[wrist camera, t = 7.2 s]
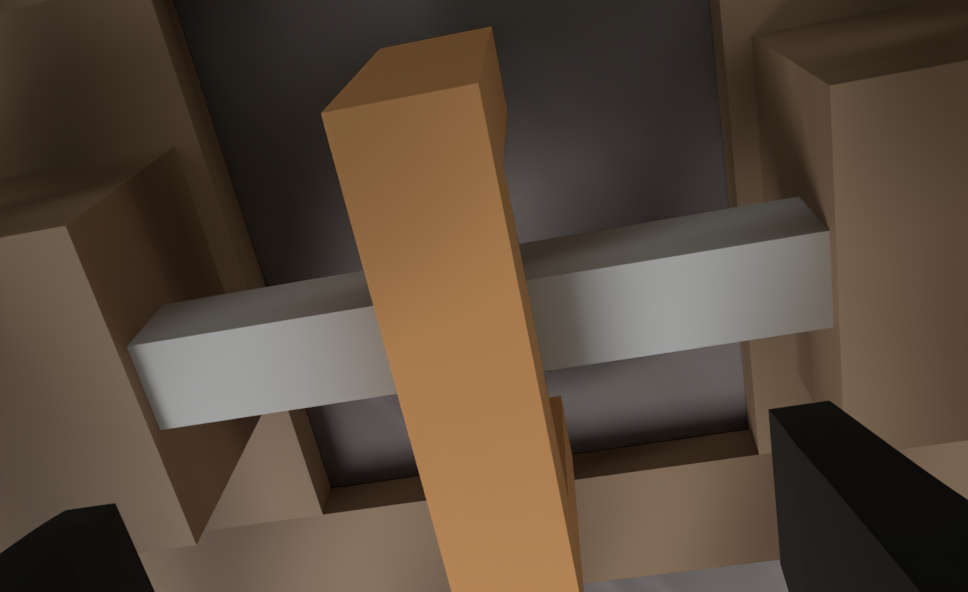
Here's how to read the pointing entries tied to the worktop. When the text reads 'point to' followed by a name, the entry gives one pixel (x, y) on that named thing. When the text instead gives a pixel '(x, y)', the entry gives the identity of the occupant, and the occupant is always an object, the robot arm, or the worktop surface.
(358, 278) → the hook stand
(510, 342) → the tan wooden angled block
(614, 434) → the worktop surface
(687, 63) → the worktop surface
